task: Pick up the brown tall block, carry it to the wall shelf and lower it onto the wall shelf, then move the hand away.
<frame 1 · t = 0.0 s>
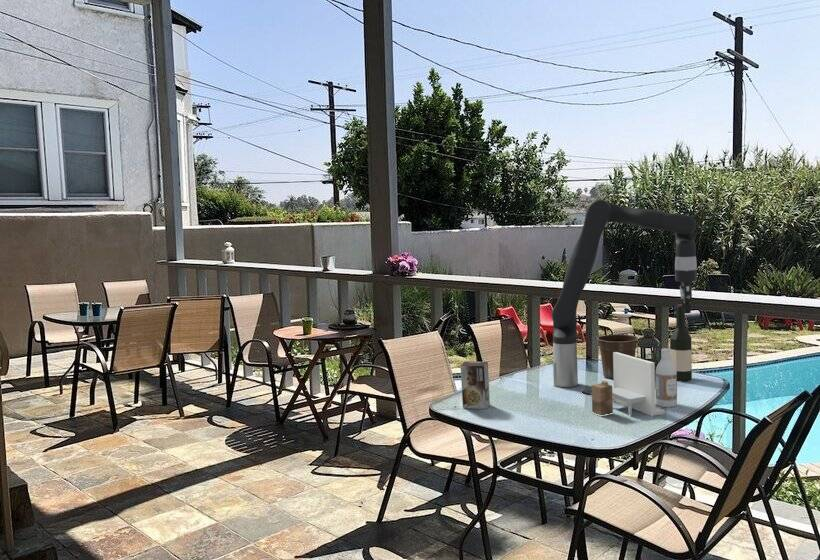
hand: (686, 311, 257), 29 cm above the table, tool pointing down, fingers open, 8 cm apart
brown tall block: (602, 413, 234), on the table
coffee box: (476, 406, 250), on the table
wine bottle: (681, 379, 272), on the table
plant pot: (618, 376, 281), on the table
wall shelf: (633, 408, 238), on the table
bath foam: (666, 405, 240), on the table
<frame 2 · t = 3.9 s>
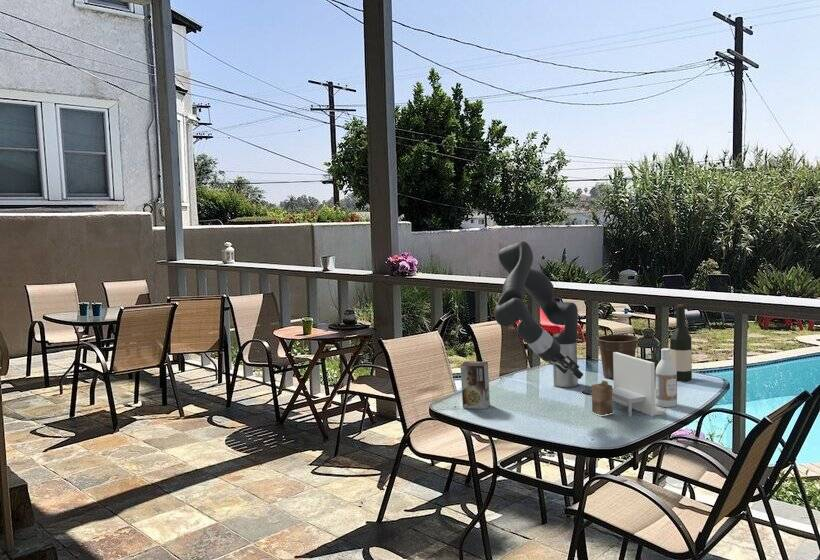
hand: (573, 374, 228), 15 cm above the table, tool tilted 45°, fingers open, 8 cm apart
nothing on the table moved.
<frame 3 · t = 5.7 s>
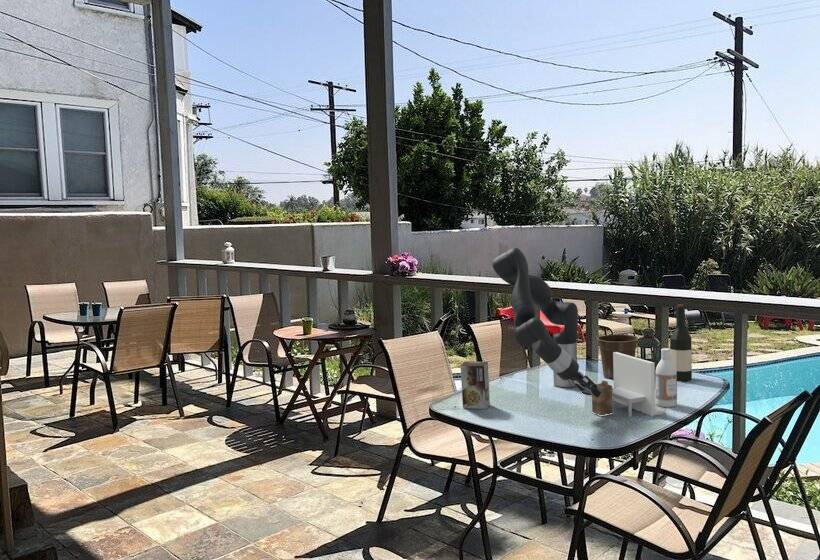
hand: (591, 392, 231), 8 cm above the table, tool tilted 45°, fingers open, 8 cm apart
nothing on the table moved.
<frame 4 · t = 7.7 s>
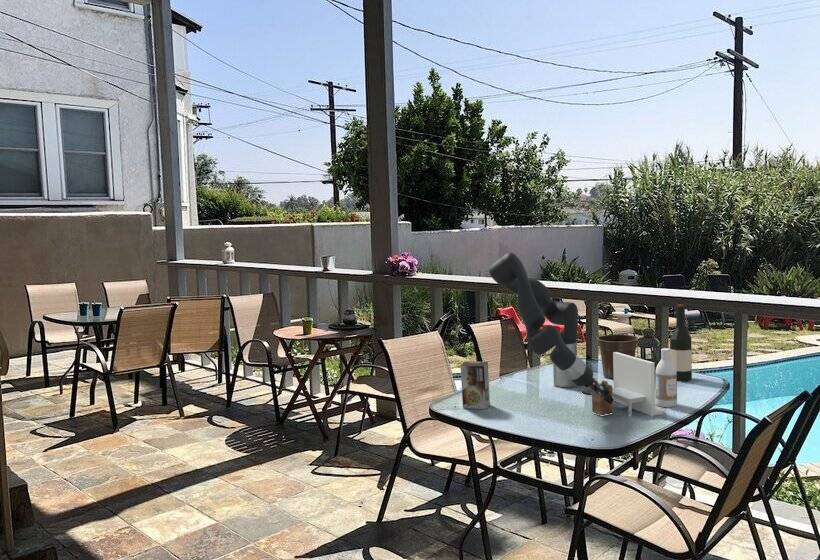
hand: (606, 399, 234), 5 cm above the table, tool tilted 45°, fingers closed on brown tall block, 4 cm apart
brown tall block: (602, 413, 234), on the table, touching gripper
everything else where it was.
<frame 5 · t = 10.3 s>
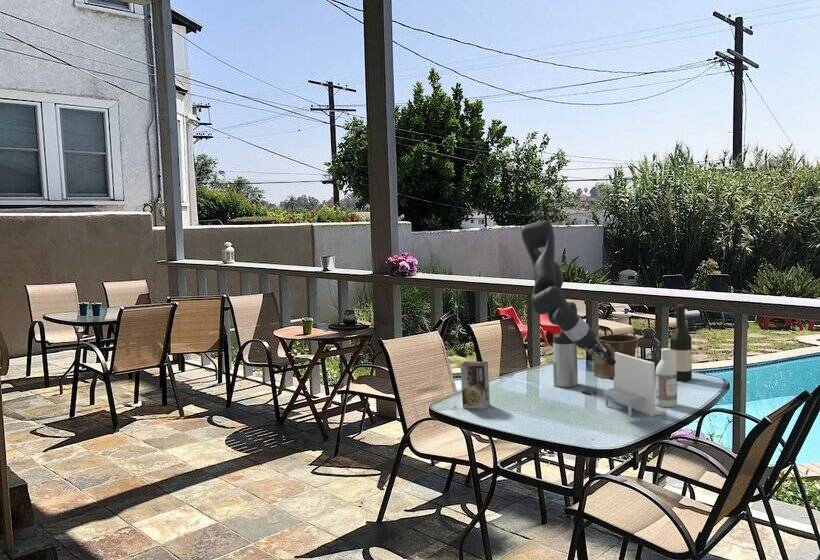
hand: (609, 362, 233), 17 cm above the table, tool tilted 45°, fingers closed on brown tall block, 4 cm apart
brown tall block: (604, 376, 233), point 13 cm above the table, touching gripper
everything else where it was.
when the fingers open (12 cm above the table, at t = 12.8 s): brown tall block drops 1 cm, resting on wall shelf.
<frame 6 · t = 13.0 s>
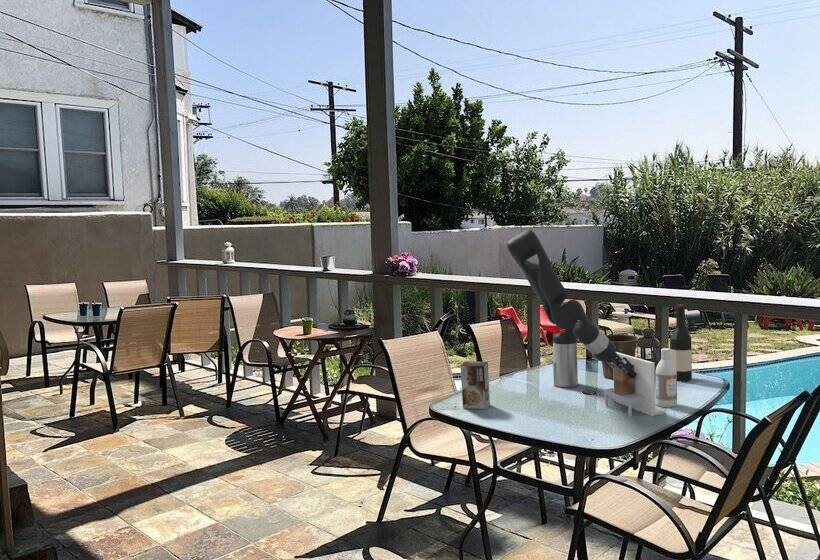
hand: (628, 374, 236), 12 cm above the table, tool tilted 45°, fingers open, 6 cm apart
brown tall block: (624, 392, 236), point 6 cm above the table, touching wall shelf
everything else where it was.
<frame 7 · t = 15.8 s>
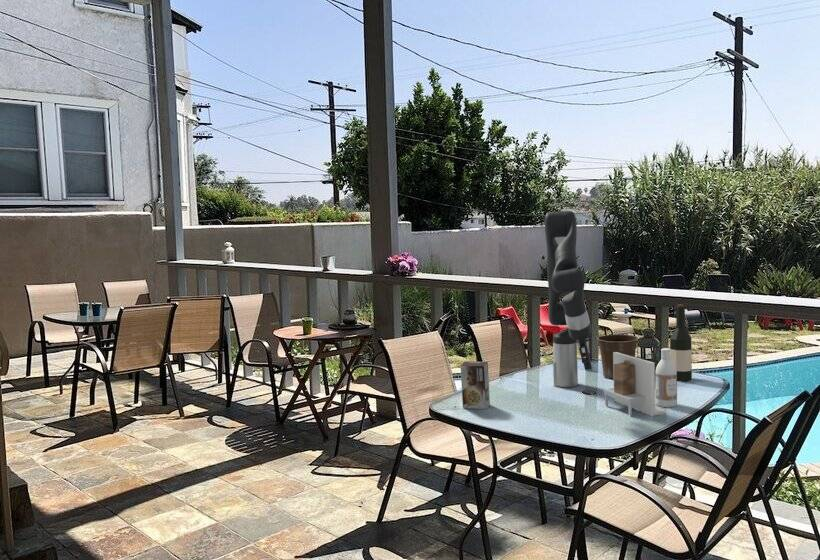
hand: (587, 361, 235), 18 cm above the table, tool tilted 25°, fingers open, 8 cm apart
nothing on the table moved.
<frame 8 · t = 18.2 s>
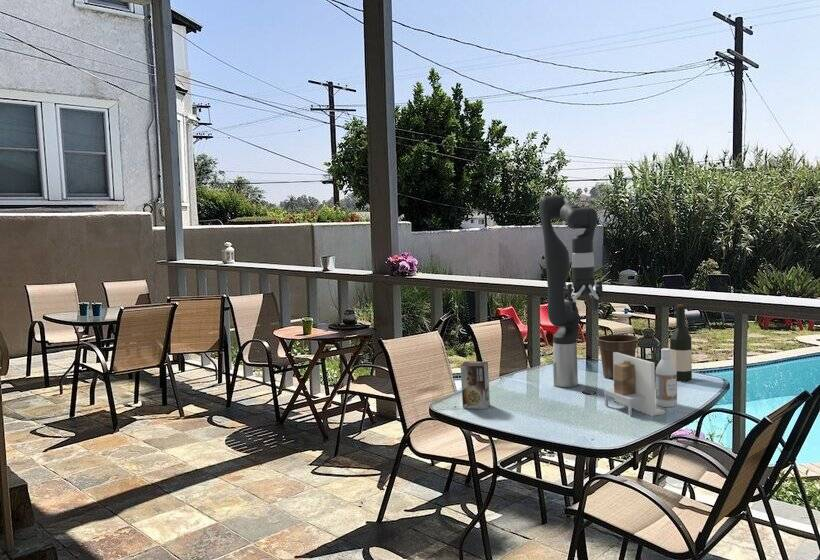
hand: (584, 311, 240), 34 cm above the table, tool pointing down, fingers open, 8 cm apart
nothing on the table moved.
at the end: brown tall block inside the target area (0.1 cm from its centre), point 6.0 cm above the table; brown tall block tilted 0°; the gripper is holding nothing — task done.
